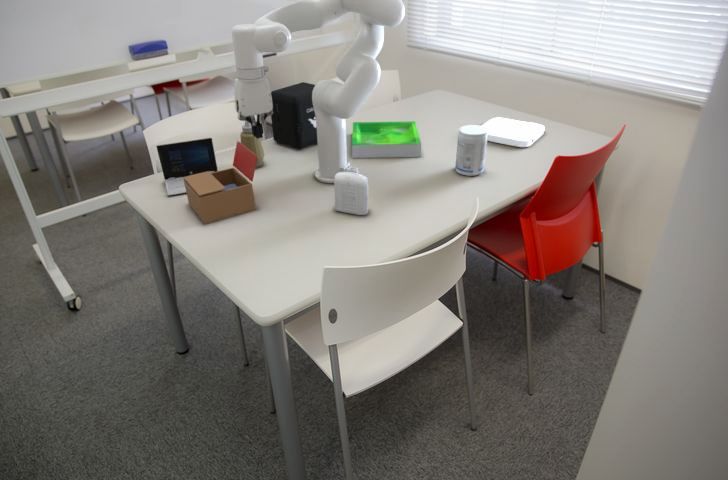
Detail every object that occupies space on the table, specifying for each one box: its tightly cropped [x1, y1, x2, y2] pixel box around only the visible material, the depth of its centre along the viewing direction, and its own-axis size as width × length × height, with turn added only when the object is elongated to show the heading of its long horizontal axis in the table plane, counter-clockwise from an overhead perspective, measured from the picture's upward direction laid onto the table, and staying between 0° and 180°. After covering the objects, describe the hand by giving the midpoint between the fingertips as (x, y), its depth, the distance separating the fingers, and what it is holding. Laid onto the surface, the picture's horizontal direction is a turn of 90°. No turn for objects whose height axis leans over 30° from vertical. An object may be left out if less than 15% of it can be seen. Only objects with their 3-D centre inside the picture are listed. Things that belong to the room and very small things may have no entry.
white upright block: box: [333, 172, 369, 216], centre depth 149 cm, size 10×4×12 cm, turn 69°
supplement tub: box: [454, 124, 488, 177], centre depth 171 cm, size 10×10×15 cm
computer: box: [481, 116, 545, 148], centre depth 202 cm, size 22×22×3 cm
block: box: [220, 184, 237, 192], centre depth 156 cm, size 5×5×5 cm
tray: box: [351, 120, 422, 159], centre depth 196 cm, size 25×25×5 cm
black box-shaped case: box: [270, 81, 318, 151], centre depth 197 cm, size 20×15×20 cm
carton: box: [182, 166, 257, 225], centre depth 154 cm, size 16×15×9 cm
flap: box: [232, 140, 258, 183], centre depth 154 cm, size 8×15×1 cm
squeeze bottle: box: [239, 121, 265, 169], centre depth 178 cm, size 8×8×18 cm
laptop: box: [156, 137, 219, 196], centre depth 167 cm, size 18×12×13 cm
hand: (258, 136), depth 152 cm, fingers closed
